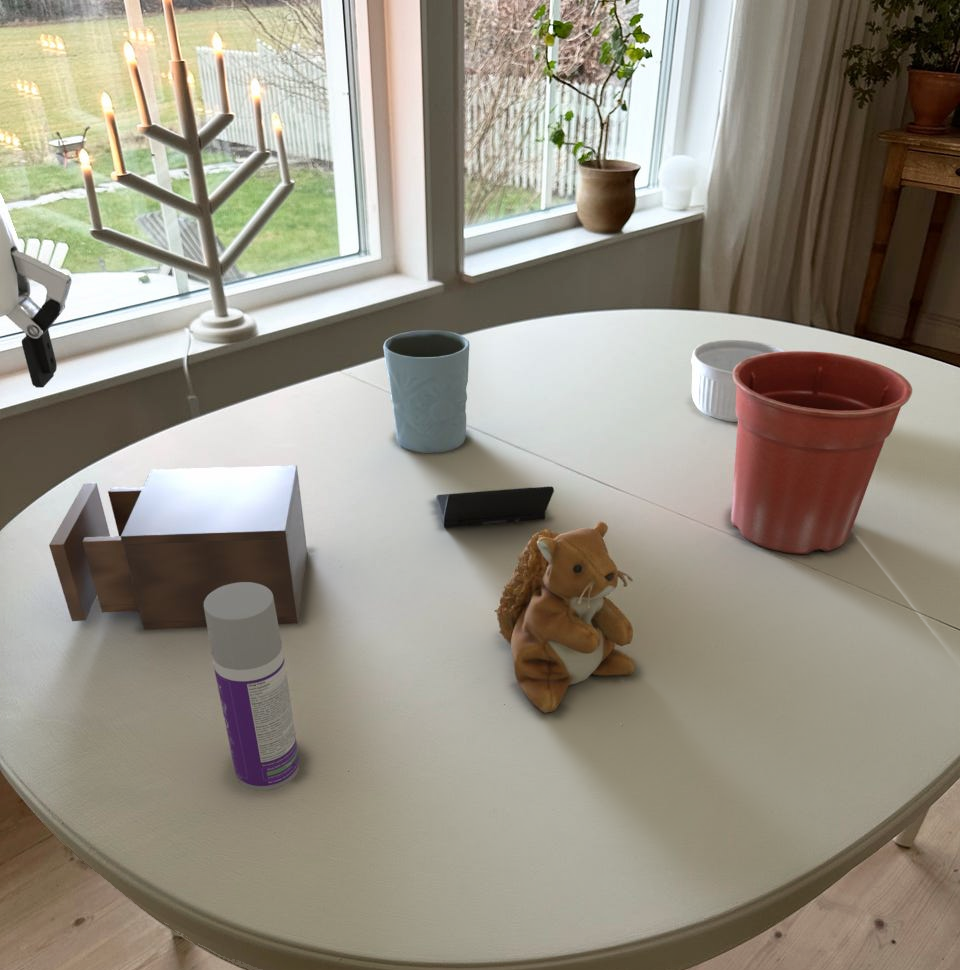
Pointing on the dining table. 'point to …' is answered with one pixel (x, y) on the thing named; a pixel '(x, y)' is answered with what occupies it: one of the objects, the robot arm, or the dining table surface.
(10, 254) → the robot arm
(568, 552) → the stuffed squirrel
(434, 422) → the light blue cup
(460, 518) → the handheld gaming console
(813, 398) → the flower pot
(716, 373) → the ramekin
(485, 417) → the dining table surface
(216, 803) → the dining table surface
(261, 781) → the container
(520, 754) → the dining table surface
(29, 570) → the dining table surface
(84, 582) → the drawer
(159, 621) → the cabinet
